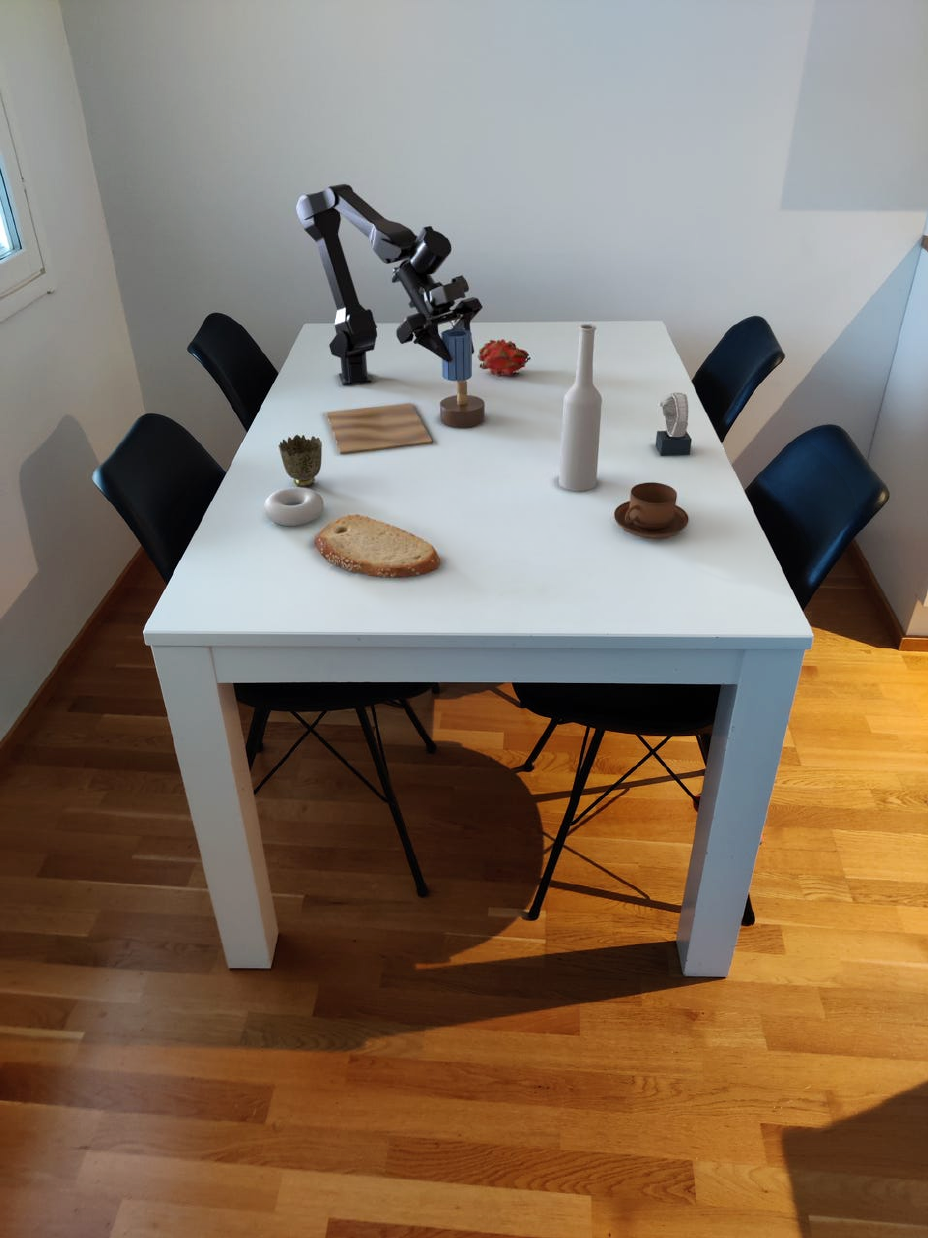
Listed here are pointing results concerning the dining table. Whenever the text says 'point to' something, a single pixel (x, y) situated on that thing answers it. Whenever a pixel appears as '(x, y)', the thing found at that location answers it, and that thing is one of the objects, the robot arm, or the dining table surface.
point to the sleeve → (457, 354)
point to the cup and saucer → (651, 511)
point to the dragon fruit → (502, 357)
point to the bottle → (581, 422)
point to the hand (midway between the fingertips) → (461, 357)
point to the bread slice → (375, 548)
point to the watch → (674, 426)
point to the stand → (462, 409)
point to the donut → (293, 506)
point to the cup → (302, 459)
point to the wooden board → (377, 428)
